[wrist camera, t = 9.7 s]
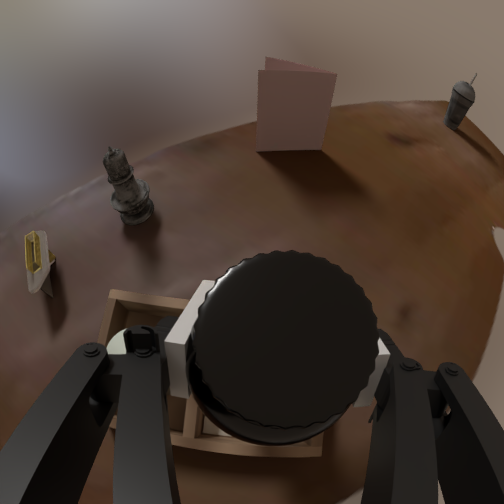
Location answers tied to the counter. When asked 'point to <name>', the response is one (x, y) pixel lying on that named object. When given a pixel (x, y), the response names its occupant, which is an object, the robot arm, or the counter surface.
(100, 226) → the counter surface
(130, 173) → the salt shaker
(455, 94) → the beverage cup
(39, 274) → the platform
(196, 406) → the caddy
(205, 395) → the supplement bottle
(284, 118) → the greeting card
